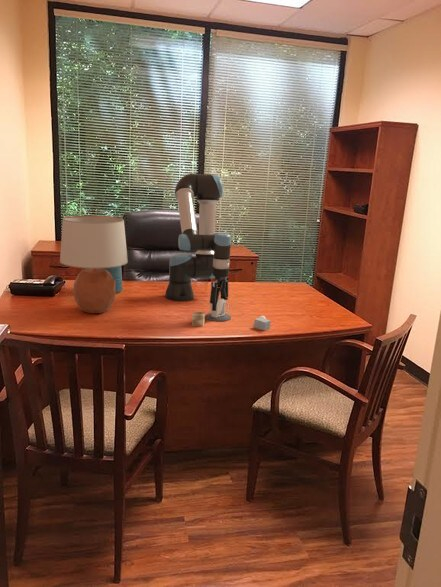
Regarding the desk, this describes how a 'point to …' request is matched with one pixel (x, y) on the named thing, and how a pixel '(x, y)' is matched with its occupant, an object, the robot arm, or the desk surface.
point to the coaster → (221, 318)
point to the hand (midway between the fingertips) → (218, 314)
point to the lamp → (93, 258)
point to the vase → (116, 277)
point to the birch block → (198, 318)
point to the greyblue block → (262, 324)
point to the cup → (219, 306)
